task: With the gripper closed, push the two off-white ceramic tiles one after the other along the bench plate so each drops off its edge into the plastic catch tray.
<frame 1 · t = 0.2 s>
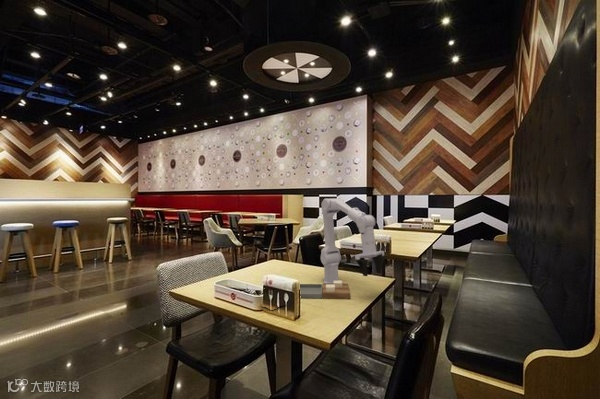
hand: (372, 274, 114), 10 cm above the table, tool pointing down, fingers open, 7 cm apart
bench plate: (336, 293, 122), on the table
medicine bottle: (273, 306, 109), on the table
catch tray: (309, 293, 123), on the table
tile 2: (337, 286, 125), point 2 cm above the table, touching bench plate
tile 1: (330, 290, 119), point 2 cm above the table, touching bench plate
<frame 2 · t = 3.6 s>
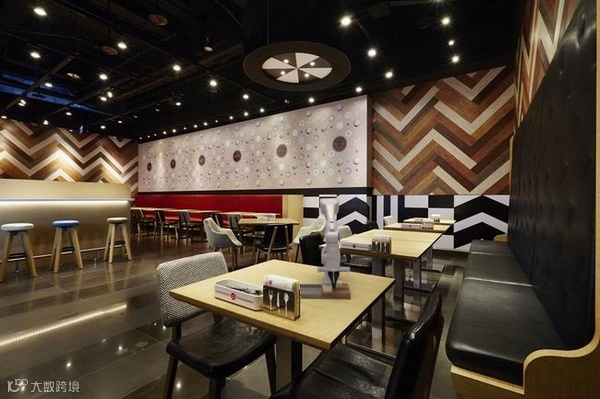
hand: (334, 288, 119), 3 cm above the table, tool pointing down, fingers closed
tile 1: (327, 290, 119), point 2 cm above the table, touching bench plate, gripper
everything else where it was.
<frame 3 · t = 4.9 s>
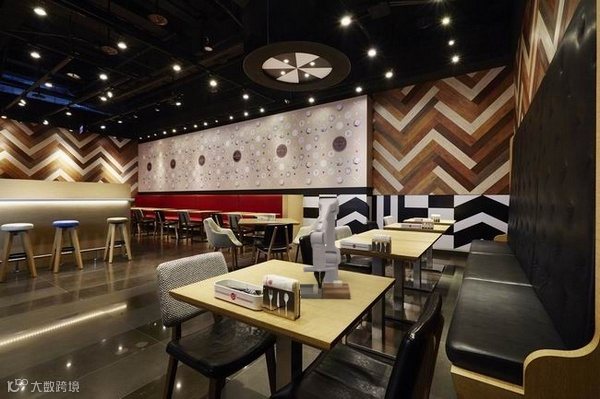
hand: (320, 287, 120), 3 cm above the table, tool pointing down, fingers closed
tile 1: (318, 290, 120), point 2 cm above the table, tilted 91°, touching catch tray, gripper
everything else where it was.
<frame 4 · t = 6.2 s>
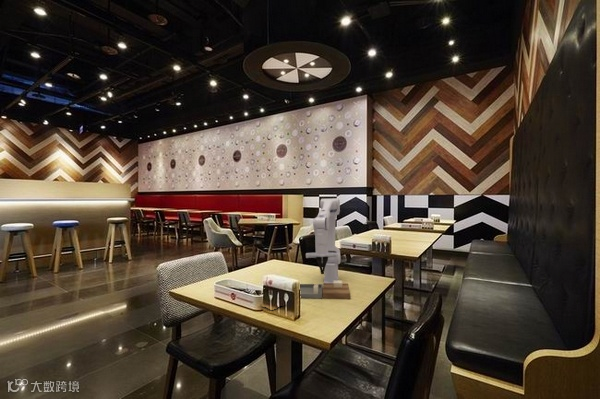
hand: (322, 273, 120), 10 cm above the table, tool pointing down, fingers closed
tile 1: (318, 290, 120), point 2 cm above the table, tilted 90°, touching catch tray
everything else where it was.
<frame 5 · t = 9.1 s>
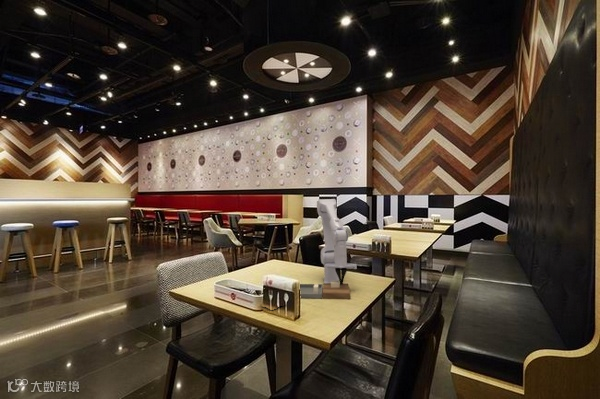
hand: (341, 283, 125), 3 cm above the table, tool pointing down, fingers closed
tile 2: (335, 286, 125), point 2 cm above the table, touching bench plate, gripper
everything else where it was.
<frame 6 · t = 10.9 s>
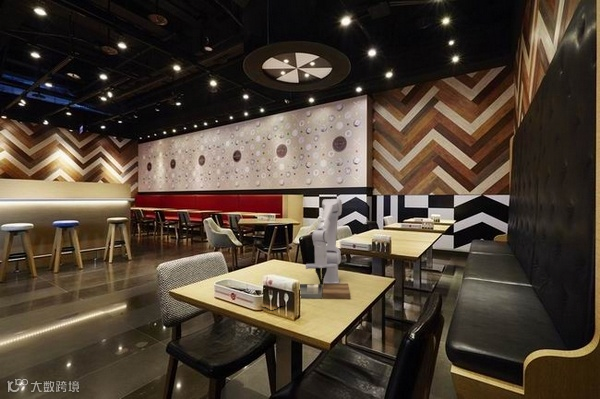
hand: (321, 283, 126), 3 cm above the table, tool pointing down, fingers closed
tile 2: (311, 285, 126), point 2 cm above the table, tilted 180°, touching catch tray
everything else where it was.
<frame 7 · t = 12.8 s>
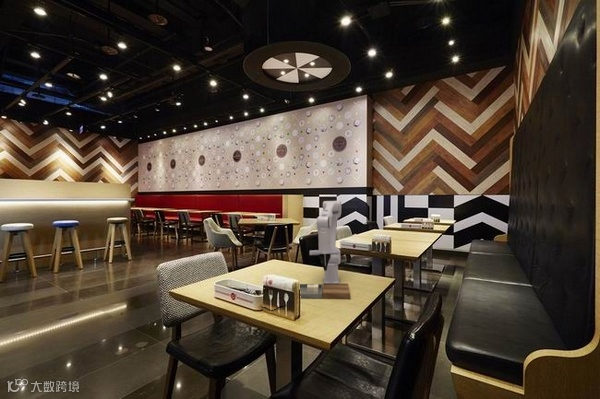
hand: (325, 270, 126), 10 cm above the table, tool pointing down, fingers closed
nothing on the table moved.
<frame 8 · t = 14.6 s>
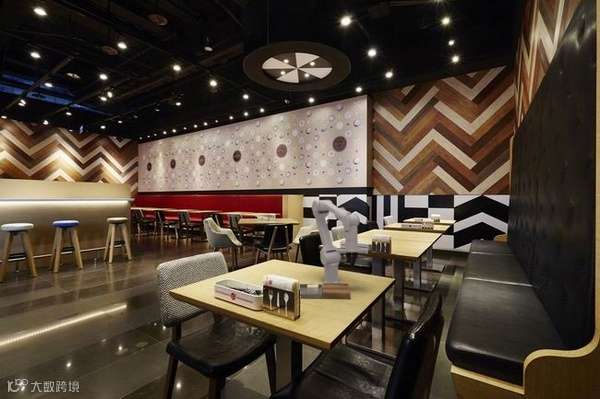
hand: (352, 268, 125), 10 cm above the table, tool pointing down, fingers closed
nothing on the table moved.
at the end: tile 1 inside the target area (5.2 cm from its centre), point 2.4 cm above the table; tile 2 inside the target area (3.1 cm from its centre), point 2.4 cm above the table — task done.
